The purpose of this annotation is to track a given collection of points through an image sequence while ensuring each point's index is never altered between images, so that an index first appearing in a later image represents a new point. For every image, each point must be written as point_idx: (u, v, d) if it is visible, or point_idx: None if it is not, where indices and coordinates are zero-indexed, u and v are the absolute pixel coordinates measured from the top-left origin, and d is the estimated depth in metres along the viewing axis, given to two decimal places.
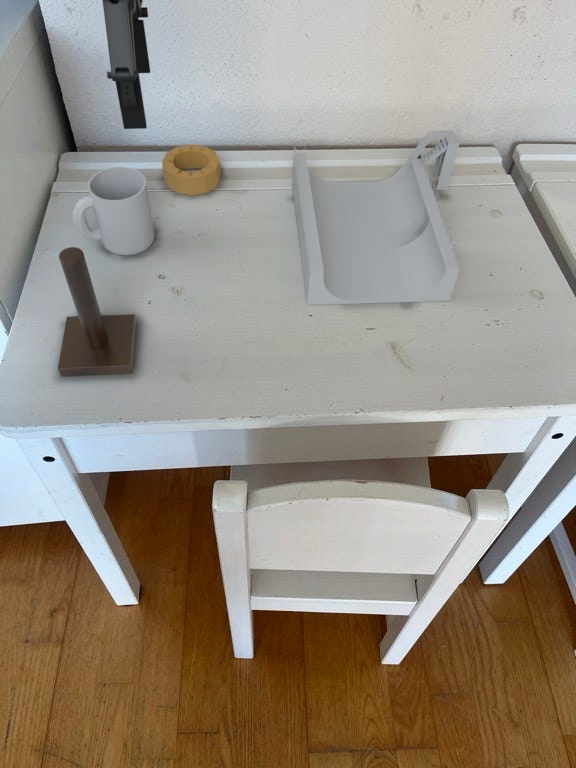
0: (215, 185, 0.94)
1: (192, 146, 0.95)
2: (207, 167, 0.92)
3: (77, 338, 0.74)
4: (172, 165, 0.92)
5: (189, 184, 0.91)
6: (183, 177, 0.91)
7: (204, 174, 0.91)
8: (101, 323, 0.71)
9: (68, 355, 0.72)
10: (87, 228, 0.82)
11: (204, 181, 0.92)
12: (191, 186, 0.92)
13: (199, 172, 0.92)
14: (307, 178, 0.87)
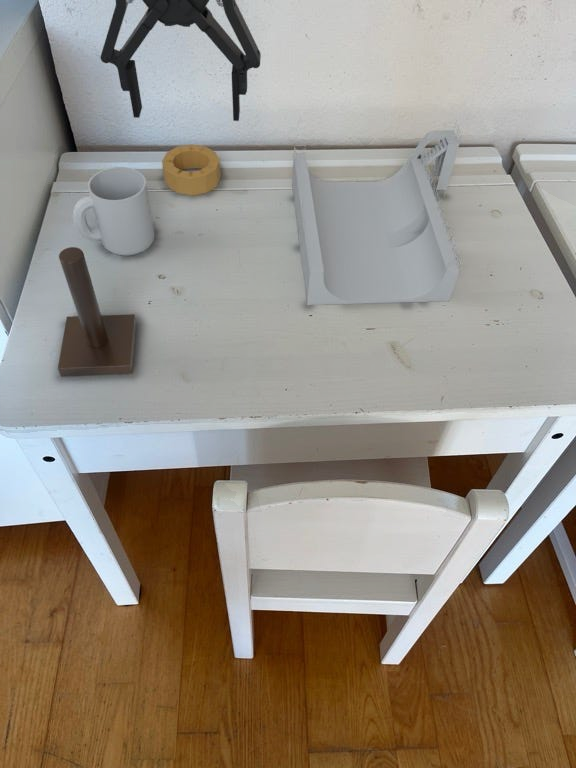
0: (215, 185, 0.94)
1: (192, 146, 0.95)
2: (207, 167, 0.92)
3: (77, 338, 0.74)
4: (172, 165, 0.92)
5: (189, 184, 0.91)
6: (183, 177, 0.91)
7: (204, 174, 0.91)
8: (101, 323, 0.71)
9: (68, 355, 0.72)
10: (87, 228, 0.82)
11: (204, 181, 0.92)
12: (191, 186, 0.92)
13: (199, 172, 0.92)
14: (307, 178, 0.87)
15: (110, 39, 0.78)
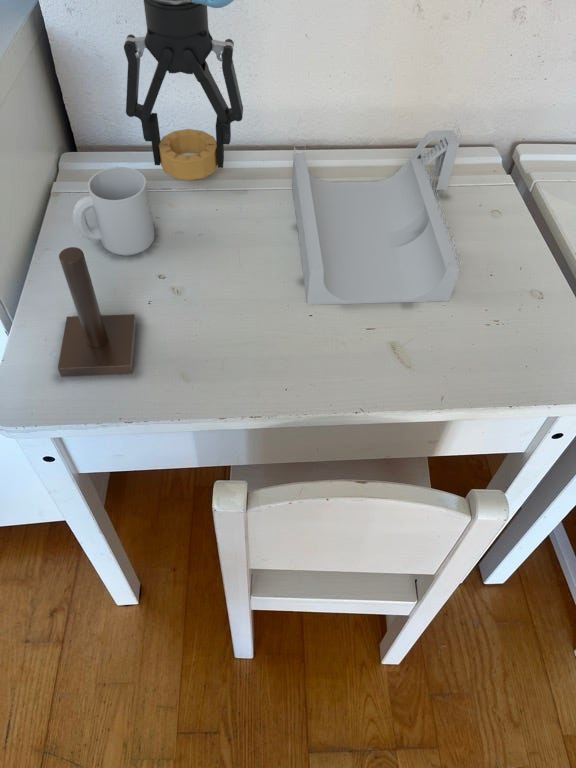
0: (213, 170, 0.92)
1: (189, 130, 0.93)
2: (205, 151, 0.90)
3: (77, 338, 0.74)
4: (169, 149, 0.90)
5: (186, 168, 0.89)
6: (180, 161, 0.88)
7: (202, 158, 0.89)
8: (101, 323, 0.71)
9: (68, 355, 0.72)
10: (87, 228, 0.82)
11: (201, 165, 0.89)
12: (188, 170, 0.89)
13: (196, 156, 0.89)
14: (307, 178, 0.87)
15: (130, 94, 0.84)
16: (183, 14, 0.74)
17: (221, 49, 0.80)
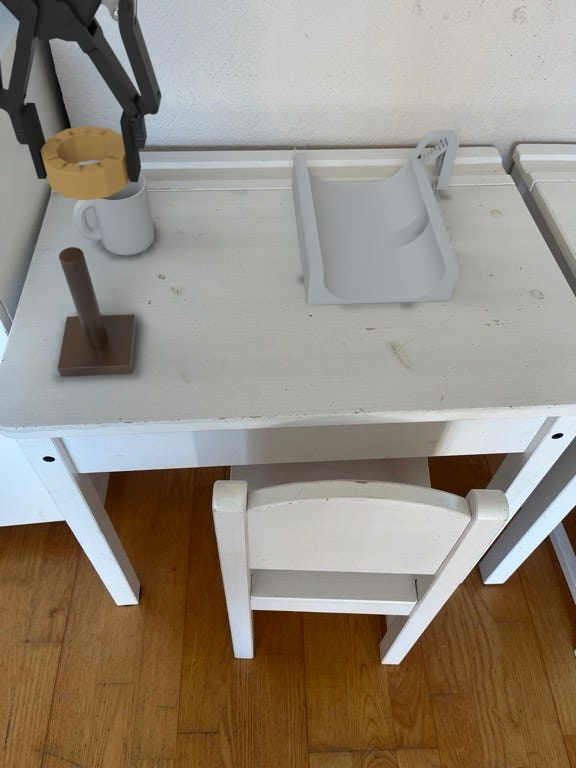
0: (123, 185, 0.63)
1: (89, 128, 0.64)
2: (108, 158, 0.61)
3: (77, 338, 0.74)
4: (55, 155, 0.61)
5: (80, 183, 0.60)
6: (69, 173, 0.60)
7: (103, 168, 0.60)
8: (101, 323, 0.71)
9: (68, 355, 0.72)
10: (87, 228, 0.82)
11: (103, 178, 0.61)
12: (83, 187, 0.61)
13: (95, 165, 0.61)
14: (307, 178, 0.87)
15: None
16: None
17: (116, 2, 0.51)
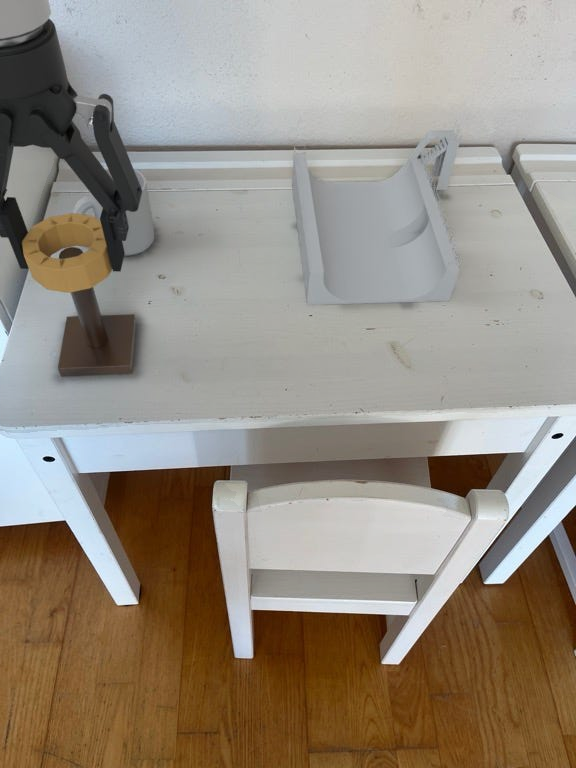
0: (105, 276, 0.62)
1: (72, 216, 0.64)
2: (89, 251, 0.61)
3: (77, 338, 0.74)
4: (36, 248, 0.61)
5: (60, 278, 0.60)
6: (49, 268, 0.59)
7: (83, 263, 0.60)
8: (101, 323, 0.71)
9: (68, 355, 0.72)
10: None
11: (84, 273, 0.60)
12: (64, 281, 0.60)
13: (75, 259, 0.60)
14: (307, 178, 0.87)
15: None
16: (10, 63, 0.45)
17: (91, 111, 0.51)
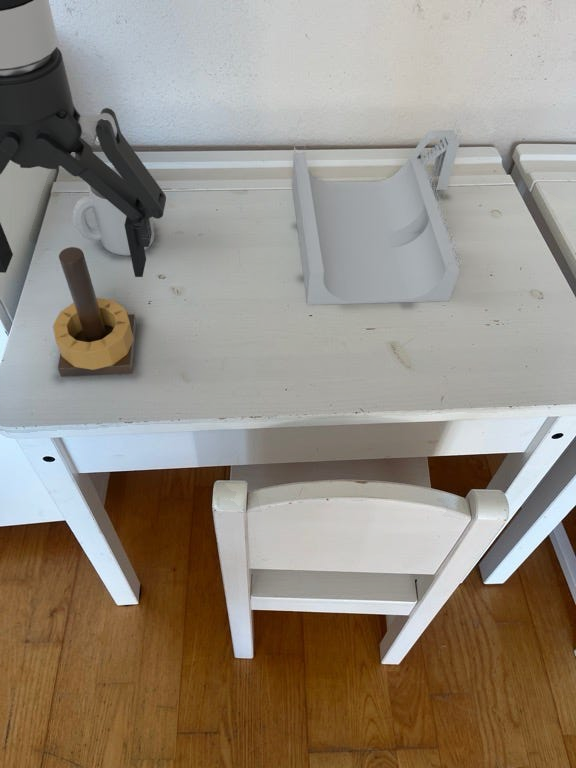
0: (124, 354, 0.72)
1: None
2: (111, 334, 0.70)
3: (77, 338, 0.74)
4: (65, 332, 0.70)
5: (87, 359, 0.69)
6: (78, 351, 0.69)
7: (107, 346, 0.69)
8: (101, 323, 0.71)
9: None
10: (87, 228, 0.82)
11: (107, 354, 0.70)
12: (90, 361, 0.70)
13: (100, 342, 0.69)
14: (307, 178, 0.87)
15: None
16: (18, 90, 0.46)
17: (94, 128, 0.52)
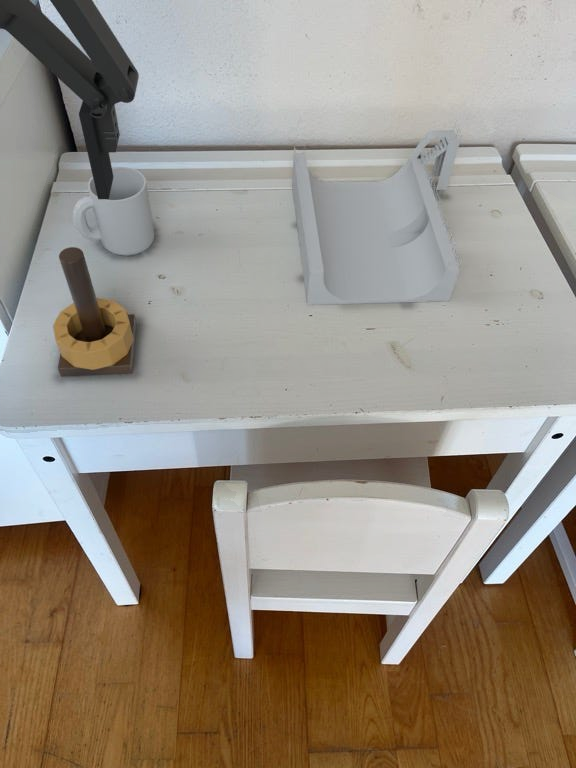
0: (124, 354, 0.72)
1: None
2: (111, 334, 0.70)
3: (77, 338, 0.74)
4: (65, 332, 0.70)
5: (87, 359, 0.69)
6: (78, 351, 0.69)
7: (107, 346, 0.69)
8: (101, 323, 0.71)
9: None
10: (87, 228, 0.82)
11: (107, 354, 0.70)
12: (90, 361, 0.70)
13: (100, 342, 0.69)
14: (307, 178, 0.87)
15: None
16: None
17: None
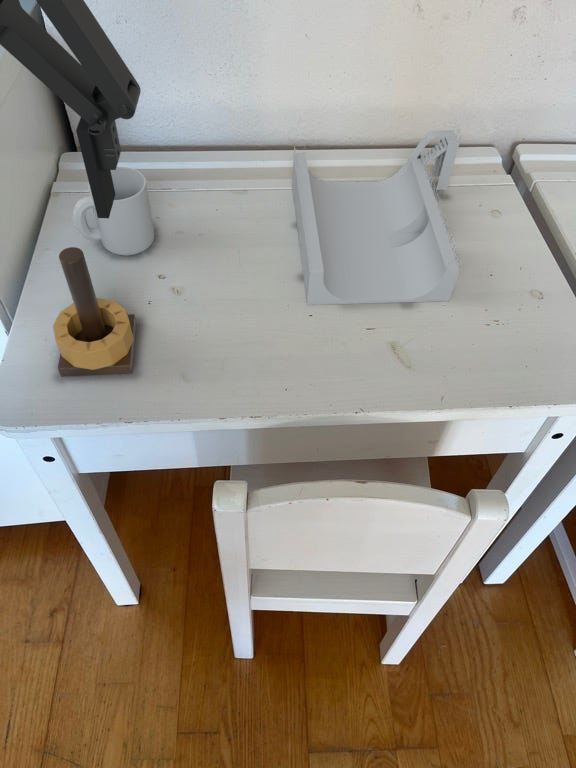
0: (124, 354, 0.72)
1: None
2: (111, 334, 0.70)
3: (77, 338, 0.74)
4: (65, 332, 0.70)
5: (87, 359, 0.69)
6: (78, 351, 0.69)
7: (107, 346, 0.69)
8: (101, 323, 0.71)
9: None
10: (87, 228, 0.82)
11: (107, 354, 0.70)
12: (90, 361, 0.70)
13: (100, 342, 0.69)
14: (307, 178, 0.87)
15: None
16: None
17: None
